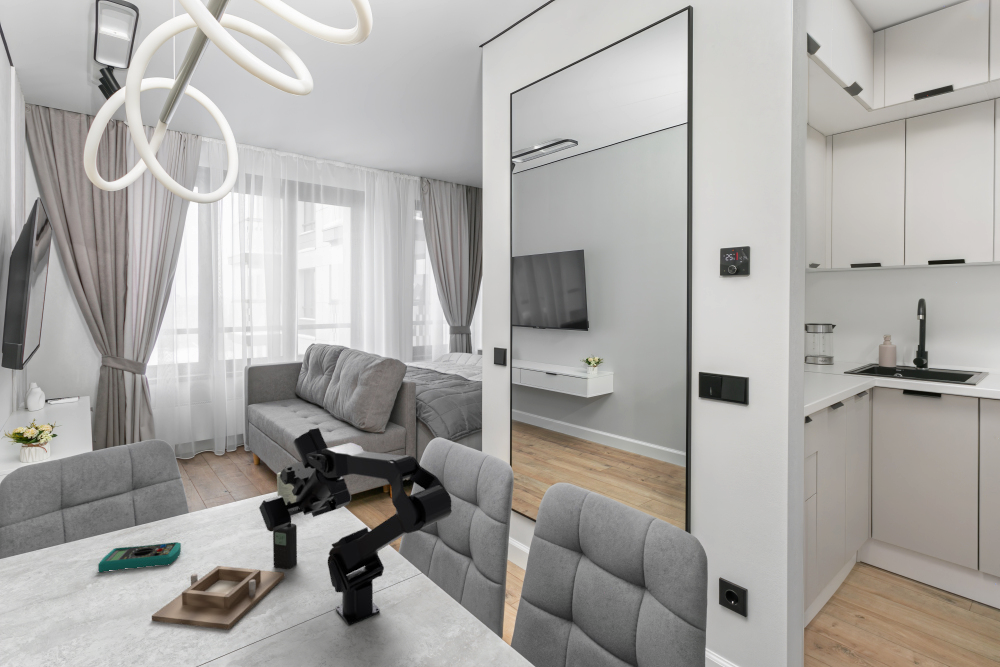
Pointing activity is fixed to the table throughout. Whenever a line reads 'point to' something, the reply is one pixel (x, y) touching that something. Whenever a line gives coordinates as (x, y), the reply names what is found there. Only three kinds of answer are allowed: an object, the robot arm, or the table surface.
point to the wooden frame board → (219, 597)
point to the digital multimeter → (140, 556)
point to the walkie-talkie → (285, 546)
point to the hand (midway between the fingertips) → (294, 521)
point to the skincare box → (285, 490)
